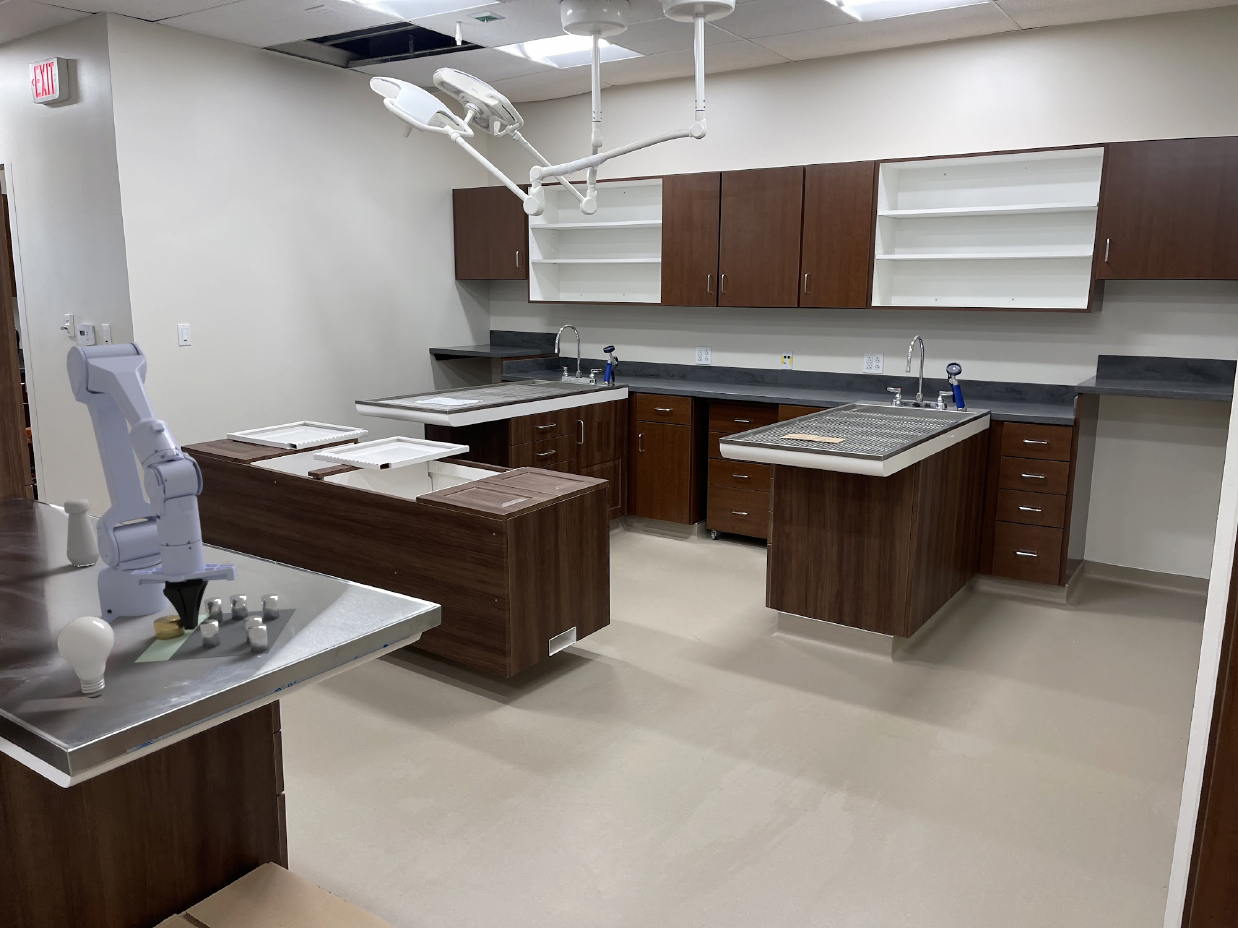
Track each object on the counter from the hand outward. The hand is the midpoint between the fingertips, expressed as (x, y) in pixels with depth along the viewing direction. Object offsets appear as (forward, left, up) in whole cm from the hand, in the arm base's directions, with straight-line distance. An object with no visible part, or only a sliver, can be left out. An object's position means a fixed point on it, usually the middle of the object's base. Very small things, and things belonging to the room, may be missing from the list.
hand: (191, 627), depth 136 cm
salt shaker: (-35, +45, -2) cm, 57 cm away
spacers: (+7, -2, -1) cm, 7 cm away
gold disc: (-3, 0, -1) cm, 3 cm away
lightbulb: (-7, -18, -2) cm, 19 cm away
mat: (+4, -1, -2) cm, 5 cm away
